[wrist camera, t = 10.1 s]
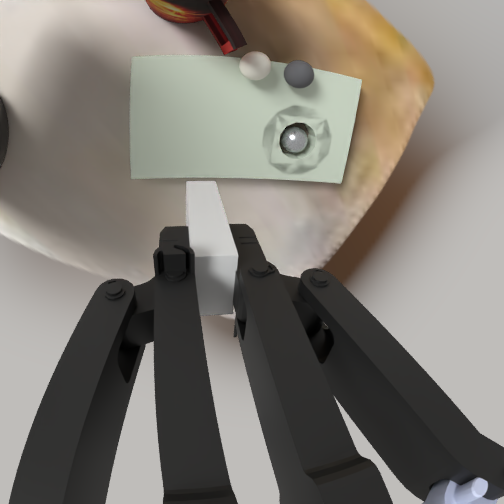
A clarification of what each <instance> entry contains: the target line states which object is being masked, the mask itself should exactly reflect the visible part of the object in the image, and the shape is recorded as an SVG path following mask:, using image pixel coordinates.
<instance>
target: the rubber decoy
mask: <svg viewBox="0 0 504 504" xmlns="http://www.w3.org/2000/svg"><path fill="white" fill-rule="evenodd" d="M284 78H285V80H286V82H287V83H288V84H289V85H290V86H292V87H294V88H305V87H307V86H309V85H310V84H311V83H312V82H313V79H314V71H313V68H312V67H311V66H310V65H309V64H308V63H307V62H304V61H301V60H296V61H292V62H290V63H289V64H288V65H287V66H286V67H285V69H284Z"/></svg>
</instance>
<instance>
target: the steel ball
mask: <svg viewBox="0 0 504 504" xmlns="http://www.w3.org/2000/svg"><path fill="white" fill-rule="evenodd" d="M307 142H308V138H307V135H306V133H305V132H304V130H302V129H301V128H299V127H289V128H287V129H286V130H284V132H283V133H282V135H281V143H282V146H283V147H284V148H285V149H286V150H287V151H289V152H292V153H297V152H300V151H302V150H303V149H304V148H305V147H306V145H307Z"/></svg>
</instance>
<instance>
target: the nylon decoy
mask: <svg viewBox="0 0 504 504" xmlns="http://www.w3.org/2000/svg"><path fill="white" fill-rule="evenodd" d="M239 68H240V71H241V73H242V74H243V76H245V77H246V78H248V79H250V80H261V79H263V78H265V77H266V76H267V75H268V74H269V73H270V71H271V61H270V59H269V58H268V56H267V55H265V54H264V53H262V52H257V51H253V52H249V53H247V54H245V55H244V56H243V57H242V59H241V60H240V64H239Z"/></svg>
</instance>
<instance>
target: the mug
mask: <svg viewBox="0 0 504 504" xmlns="http://www.w3.org/2000/svg"><path fill="white" fill-rule="evenodd" d="M146 2H147V4H148V6H149V7H150V9H151V10H152V11H153V12H154V13H155V14H156V15H158V16H159V17H161V18H162V19H165V20H167V21H170V22H175V23H194V22H198V21H202V20H204V22H205V23H206V25H207V26H208V28H209V30H210V31H211V33H212V35H213V36H214V38H215V40H216V41H217V43H218V44H219V46H220V48H221V50H222V52H223V54H224V55H225V54H228V53H230V52H233V51H235V50H237V48H240V47H242V46H244V45H247V43H246V41H245V39H244V37H243V35H242V33H241V32H240V30H239V28H238V27H237V25H236V23H235V22H234V20H233V18H232V17H231V15H230V13H229V12H228V10H227V8H226V7H225V4H226V3H227V2H228V0H146Z"/></svg>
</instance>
